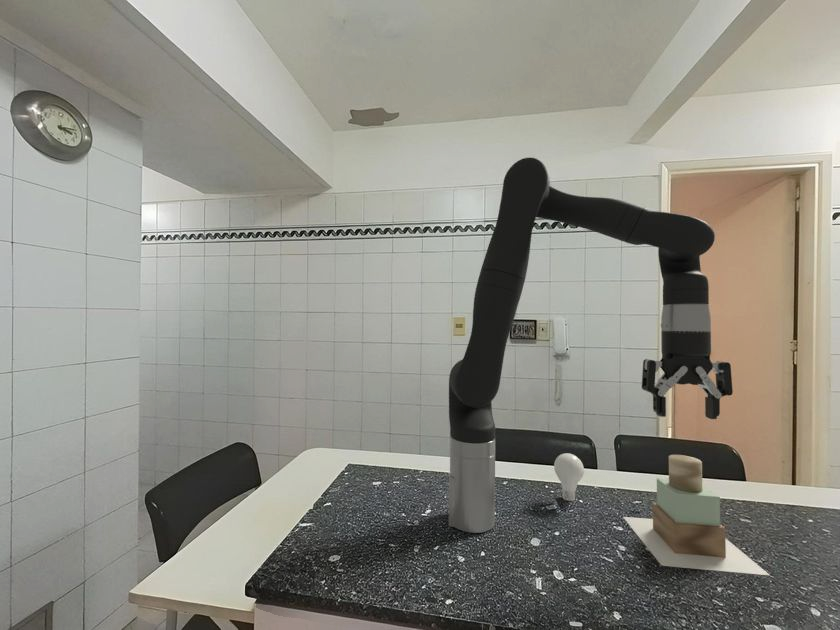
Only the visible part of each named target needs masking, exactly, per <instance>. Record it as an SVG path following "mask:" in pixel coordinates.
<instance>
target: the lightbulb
mask: <svg viewBox="0 0 840 630" xmlns="http://www.w3.org/2000/svg"><path fill="white" fill-rule="evenodd" d="M553 467H554V472H555V474H556V476H557V478H558V480H559V481H560V485H561V488H562V499H563V500H564V501H568V502H574V501H575V500H576V490H577V487H578V483H579V482H580V481H581V480H582V478H583V476H584V475H585V473H584V472H585V469H584V468H585V466H584V464H583V462H582V461H581V459H580V458H578V456H576V455H575V454H572V453H567V452H566V453H561V454H560V455H557V457H556V458H555V461H554V464H553Z"/></svg>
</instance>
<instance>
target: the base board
mask: <svg viewBox="0 0 840 630" xmlns="http://www.w3.org/2000/svg"><path fill="white" fill-rule="evenodd" d="M622 518H623V520H625V522H626V524H628V525H629V527H630V528H631V529H632V530H633V532H634V533H635V534H636V535H637V537H638V538H639V539H640V540H641V542H642V543H643V544H644V546H645V547H646V548H647V549H648V551H649V552H650V553H651V554H652V555H653V557H654V558H655V559H656V561H657V562H658V563H659V564H660V565H661V566H662V567H671V568H672V567H673V568H684V569H695V570H703V571H705V570H706V571H715V572H716V571H717V572H726V573H738V574H749V575H759V576H771V575H770V573H768V572H767V571H766V570H765V569H764V568H762V567H761V566H760V565H758V564H757V563H756V562H755V561H753V559H751V558H750V557H749V556H748V555H747V554H745V553H744V552H743V551H742V550H741V549H739V548H738V547H737V546H735V545H734V544H733V543H732V542H731V541H730V540H728V539H727V538H726V537H725V542H726V558H724V557H713V556H702V555H690V554H679V553H674V551H673V550H672V549H671V548H670V547H669V546H668V545H667V544H666V543H665V541H664V540H663V539H662V538H661V537H660V536H659V535H658V534H657V533H656V531H655V530H654V529H653V518H643V517H631V516H630V517H629V516H622Z"/></svg>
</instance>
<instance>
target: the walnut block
mask: <svg viewBox="0 0 840 630" xmlns="http://www.w3.org/2000/svg"><path fill="white" fill-rule="evenodd" d="M652 519H653V529H654V530H655V531H656V533H657V534H658V535H659V536H660V537H661V538H662V539H663V540H664V541H665V543H666V544H667V545H668V546H669V547H670V548H671V549H672V550H673V551H674V553H679V554H690V555H702V556H713V557H724V558H726V542H725V538H726V527H725V526H724V525H722V524H721V523H720V526H712V525H699V524H686V523H676V522H675V521H674V520H673V519H672V518H671V517H670V516H669V515H668V514H667V513H666V512H665V511H664V510H663V509H662V508H660V507H659V506H658V505H657V502H652Z"/></svg>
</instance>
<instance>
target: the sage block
mask: <svg viewBox="0 0 840 630" xmlns="http://www.w3.org/2000/svg"><path fill="white" fill-rule="evenodd" d="M656 503H657V505H658V506H659V507H660V508H662V509H663V510H664V511H665V512H666V513H667V514H668V515H669V516H670V517H671V518H672V519H673V520H674V521H675V522H676V523H686V524H699V525H712V526H720V524H721V496H719V495H718V494H717V493H715V492H713V490H710V489H709V488H708V487H706V486H705V485H703V484H702V492H699V493H691V492H685V491H681V490H678V489H675V488H673V487H672V486H670V485H669V478H662V477H656Z"/></svg>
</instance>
